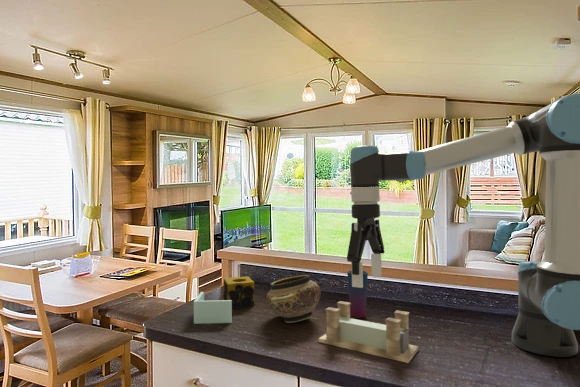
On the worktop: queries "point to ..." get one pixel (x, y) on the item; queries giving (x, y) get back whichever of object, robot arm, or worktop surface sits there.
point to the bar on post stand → (391, 345)
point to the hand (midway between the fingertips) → (367, 281)
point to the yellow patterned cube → (239, 291)
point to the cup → (357, 296)
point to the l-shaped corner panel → (212, 310)
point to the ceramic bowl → (293, 298)
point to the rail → (367, 333)
